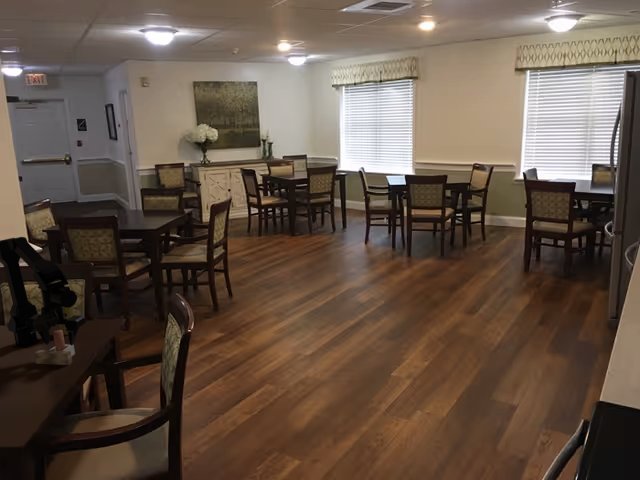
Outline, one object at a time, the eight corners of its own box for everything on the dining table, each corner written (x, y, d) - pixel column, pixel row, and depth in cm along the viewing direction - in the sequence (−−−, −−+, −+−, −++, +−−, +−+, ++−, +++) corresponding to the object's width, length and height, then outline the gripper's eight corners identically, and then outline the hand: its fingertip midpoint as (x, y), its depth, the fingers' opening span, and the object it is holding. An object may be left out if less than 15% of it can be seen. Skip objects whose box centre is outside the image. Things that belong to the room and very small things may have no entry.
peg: (54, 357, 177) (51, 333, 175) (60, 353, 180) (56, 329, 177) (62, 357, 176) (59, 333, 174) (68, 354, 179) (64, 330, 177)
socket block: (48, 361, 176) (46, 351, 175) (59, 353, 181) (57, 344, 180) (64, 361, 175) (62, 352, 174) (75, 353, 180) (73, 344, 180)
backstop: (36, 363, 174) (34, 352, 173) (40, 360, 176) (38, 350, 175) (68, 365, 172) (66, 354, 171) (72, 362, 174) (70, 351, 173)
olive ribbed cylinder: (81, 328, 202) (75, 294, 199) (72, 335, 196) (66, 300, 193) (66, 328, 203) (61, 294, 199) (57, 335, 197) (51, 300, 193)
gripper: (10, 310, 167) (18, 354, 171) (63, 311, 164) (70, 356, 168) (34, 298, 178) (41, 339, 181) (83, 299, 175) (89, 341, 178)
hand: (59, 344), depth 177 cm, fingers open, 9 cm apart
